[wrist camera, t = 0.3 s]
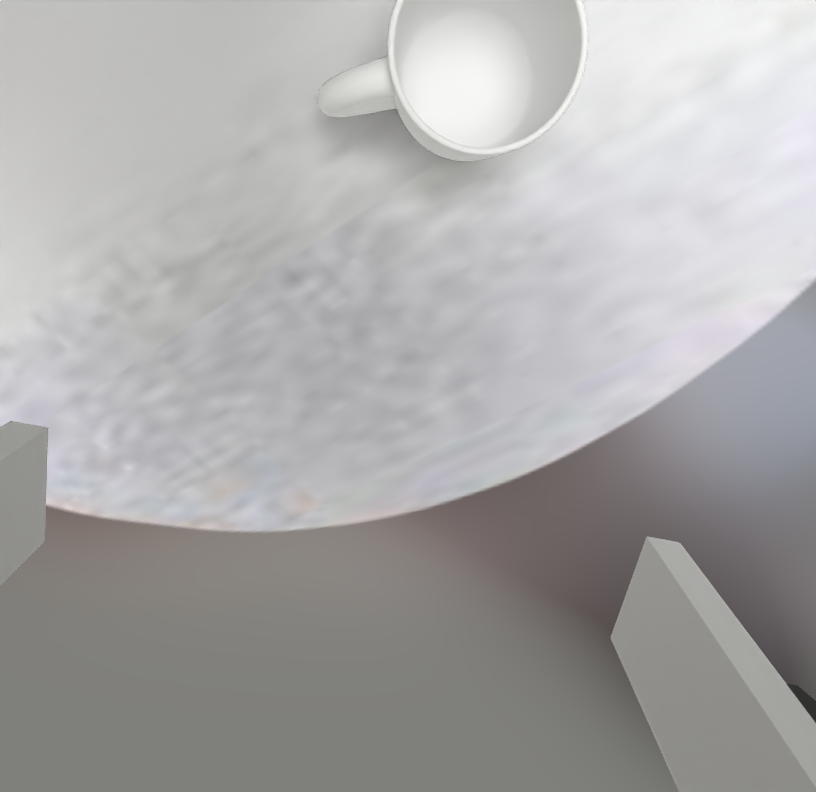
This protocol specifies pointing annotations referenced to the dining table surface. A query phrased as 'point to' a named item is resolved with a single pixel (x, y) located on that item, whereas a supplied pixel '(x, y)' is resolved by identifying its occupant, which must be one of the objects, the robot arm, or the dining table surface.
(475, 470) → the dining table surface
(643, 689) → the robot arm
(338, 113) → the mug
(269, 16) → the dining table surface
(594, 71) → the dining table surface
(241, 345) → the dining table surface
